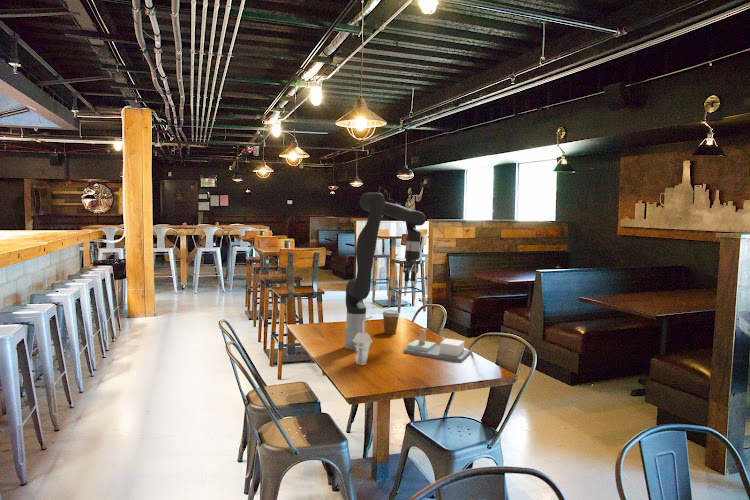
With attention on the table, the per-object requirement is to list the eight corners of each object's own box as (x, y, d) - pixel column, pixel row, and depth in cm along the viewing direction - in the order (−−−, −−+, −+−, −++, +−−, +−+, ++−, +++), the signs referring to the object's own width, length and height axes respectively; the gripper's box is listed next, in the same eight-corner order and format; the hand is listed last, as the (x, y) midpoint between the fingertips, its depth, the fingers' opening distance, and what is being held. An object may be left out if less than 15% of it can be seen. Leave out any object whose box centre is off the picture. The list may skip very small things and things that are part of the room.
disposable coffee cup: (389, 330, 283) (390, 309, 282) (402, 333, 276) (403, 312, 276) (377, 332, 276) (378, 311, 276) (390, 335, 270) (391, 314, 269)
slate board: (461, 362, 226) (461, 359, 225) (403, 352, 237) (403, 349, 237) (470, 353, 242) (470, 350, 242) (416, 344, 253) (416, 341, 253)
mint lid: (427, 351, 235) (429, 333, 234) (407, 348, 239) (408, 330, 239) (435, 346, 246) (436, 328, 246) (415, 343, 250) (416, 325, 250)
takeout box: (457, 356, 230) (458, 345, 229) (439, 353, 233) (440, 342, 233) (463, 351, 240) (464, 341, 239) (445, 348, 243) (446, 338, 243)
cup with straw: (348, 361, 218) (351, 315, 217) (367, 359, 222) (370, 315, 220) (355, 366, 210) (358, 319, 209) (375, 365, 214) (377, 319, 213)
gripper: (413, 250, 252) (410, 282, 252) (424, 251, 264) (421, 281, 265) (400, 249, 255) (397, 280, 255) (411, 250, 268) (408, 280, 268)
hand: (409, 281), depth 260 cm, fingers open, 8 cm apart
